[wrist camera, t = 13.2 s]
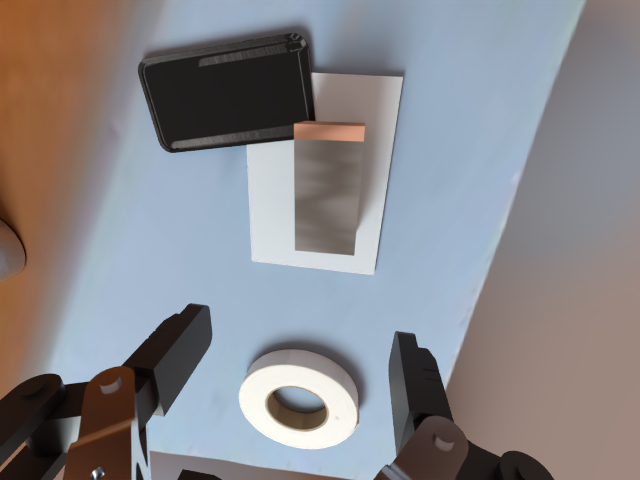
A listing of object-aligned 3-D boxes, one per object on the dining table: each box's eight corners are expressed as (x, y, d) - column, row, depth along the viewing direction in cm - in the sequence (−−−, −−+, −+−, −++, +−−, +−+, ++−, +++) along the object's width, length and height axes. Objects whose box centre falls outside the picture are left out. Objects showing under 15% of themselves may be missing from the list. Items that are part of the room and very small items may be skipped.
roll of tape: (256, 425, 45) (249, 444, 42) (236, 345, 39) (227, 362, 36) (360, 433, 42) (360, 455, 40) (357, 349, 36) (356, 368, 34)
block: (294, 250, 25) (293, 123, 21) (305, 228, 30) (306, 120, 26) (354, 255, 25) (364, 126, 21) (356, 232, 29) (365, 122, 25)
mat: (253, 258, 33) (251, 260, 32) (245, 70, 25) (243, 69, 25) (373, 272, 31) (373, 275, 31) (402, 77, 24) (403, 77, 24)
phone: (317, 137, 26) (162, 154, 29) (319, 136, 27) (169, 152, 30) (305, 29, 23) (133, 58, 26) (308, 32, 24) (142, 60, 27)
